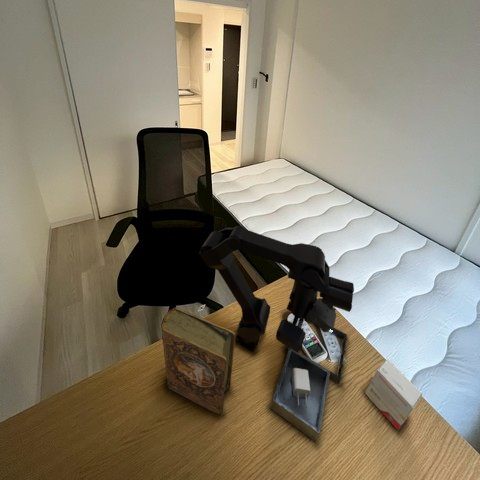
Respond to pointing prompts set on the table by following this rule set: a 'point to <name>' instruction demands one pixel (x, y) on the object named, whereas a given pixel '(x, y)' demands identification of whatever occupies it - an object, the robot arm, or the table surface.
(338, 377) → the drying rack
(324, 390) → the sink
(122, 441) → the table surface
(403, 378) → the ink box
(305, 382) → the usb wall charger
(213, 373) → the book
